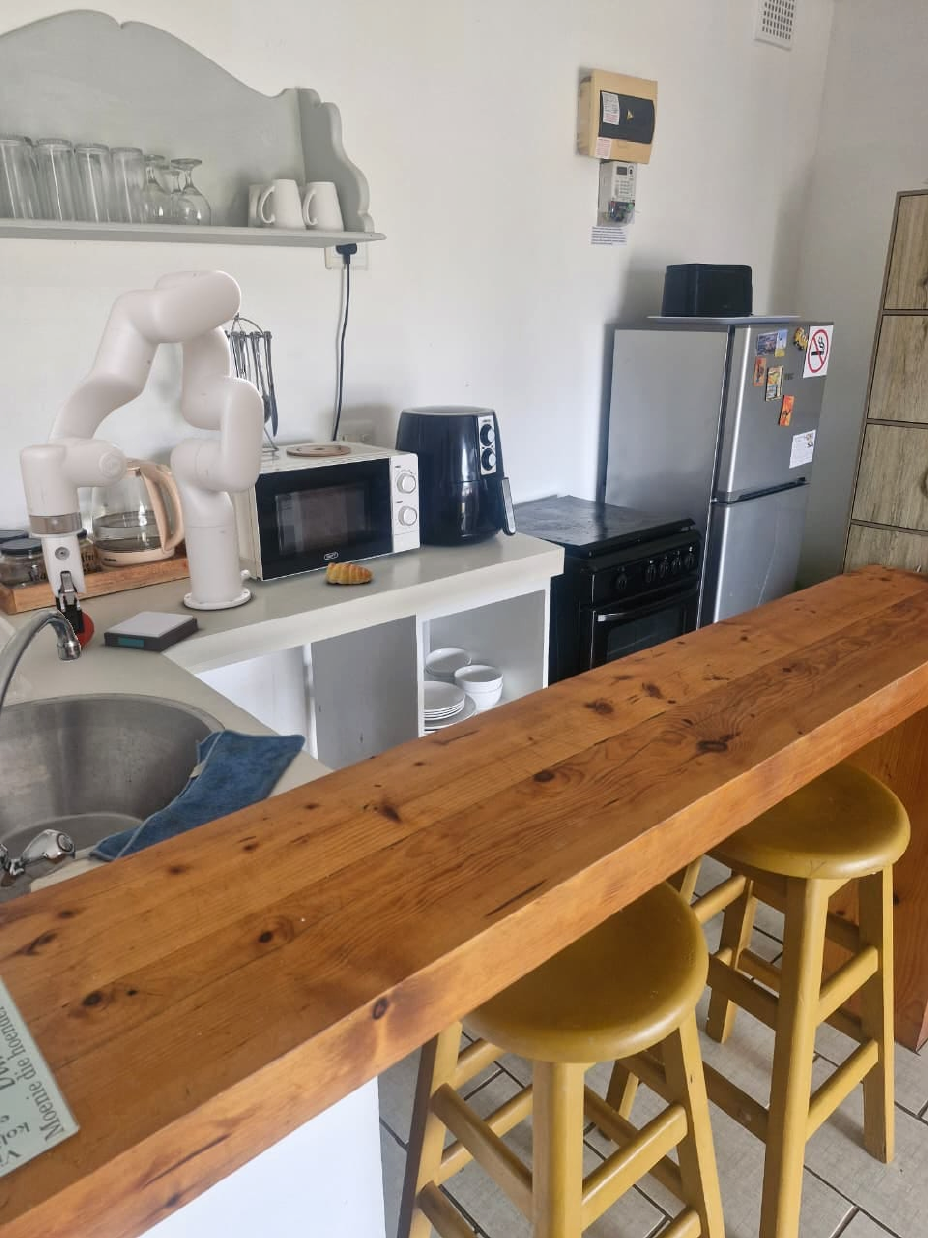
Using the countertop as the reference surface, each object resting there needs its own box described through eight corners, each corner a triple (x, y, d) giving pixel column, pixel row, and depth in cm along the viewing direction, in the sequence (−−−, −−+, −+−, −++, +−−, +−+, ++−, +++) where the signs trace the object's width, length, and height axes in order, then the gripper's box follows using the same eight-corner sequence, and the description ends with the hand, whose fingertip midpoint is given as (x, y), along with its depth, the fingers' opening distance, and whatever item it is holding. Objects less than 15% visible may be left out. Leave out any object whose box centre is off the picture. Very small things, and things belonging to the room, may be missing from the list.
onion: (83, 657, 142) (75, 610, 139) (52, 655, 143) (43, 609, 141) (104, 644, 147) (96, 600, 145) (73, 642, 149) (66, 598, 146)
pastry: (375, 577, 184) (374, 559, 183) (368, 586, 178) (367, 568, 177) (331, 576, 186) (330, 558, 184) (323, 585, 179) (322, 567, 178)
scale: (145, 624, 157) (143, 610, 156) (198, 629, 154) (196, 614, 153) (104, 646, 147) (101, 630, 146) (160, 652, 144) (157, 636, 143)
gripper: (87, 531, 133) (102, 637, 138) (76, 512, 147) (90, 608, 152) (33, 536, 129) (50, 644, 135) (27, 516, 144) (43, 614, 149)
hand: (71, 625), depth 143 cm, fingers open, 9 cm apart
